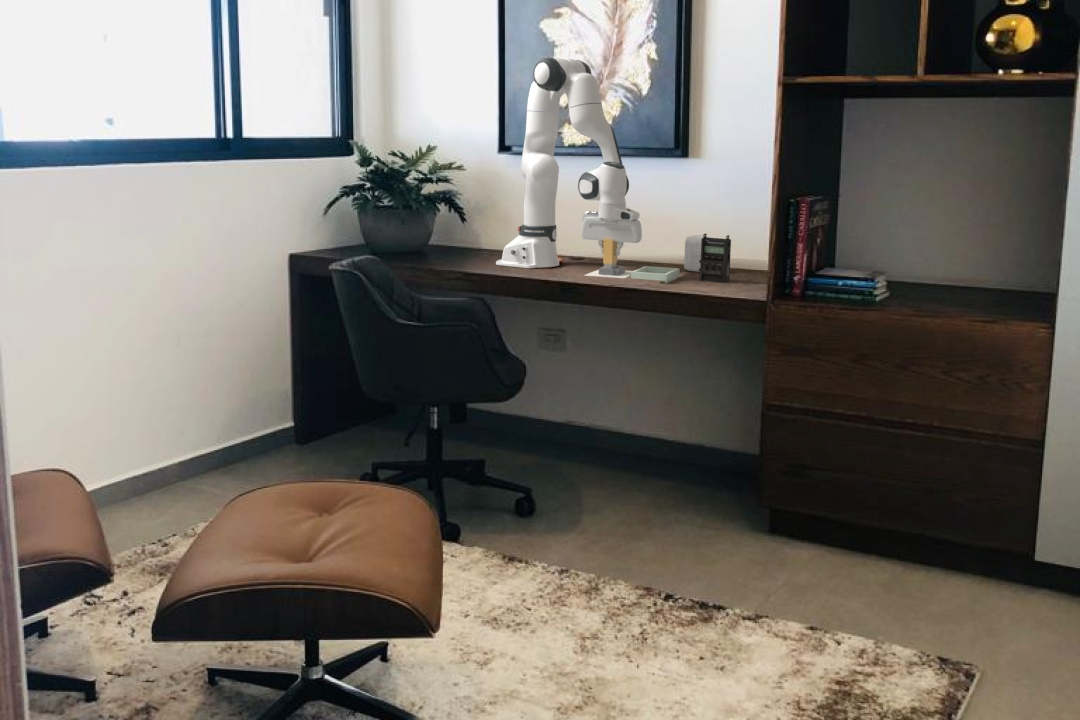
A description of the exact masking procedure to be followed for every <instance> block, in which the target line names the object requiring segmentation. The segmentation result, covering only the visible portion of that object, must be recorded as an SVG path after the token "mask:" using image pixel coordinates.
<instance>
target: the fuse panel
mask: <svg viewBox="0 0 1080 720" xmlns="http://www.w3.org/2000/svg"><path fill="white" fill-rule="evenodd" d="M632 271H633V270H626V266H623V265H616V268H615V269H607V268H604V265H603V266H601V267H599V268H598V269H596V270H593V271H591V272H589V273H586V274H583V276H586V277H600V278H615V279H626V278H628V277H631V272H632Z"/></svg>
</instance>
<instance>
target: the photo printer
mask: <svg viewBox="0 0 1080 720" xmlns="http://www.w3.org/2000/svg"><path fill="white" fill-rule="evenodd" d="M706 237H708V238H711V237H709V236H706ZM701 238H703V234H702V235H701V234H698V235H697V234H696V235H690V236H687V237H686V239H685V242H684V263H683V269H684V270H685V271H687V272H689V271H690V272H697V273H700V271H699V268H700V263H699V260H701Z"/></svg>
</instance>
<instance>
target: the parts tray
mask: <svg viewBox="0 0 1080 720" xmlns="http://www.w3.org/2000/svg"><path fill="white" fill-rule="evenodd" d="M631 271H632V272H631V276H630V279H634V280H635V279H636V280H650V281H659V284H666V285H667V284H669V283H672V282H673V281H675V280H677V279H679V278H680V268H676V267H675V268H674V267H662V266H661V267H659V266H646V265H645V266H642V267H640V268H637V269H635V270H631Z"/></svg>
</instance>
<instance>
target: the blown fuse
mask: <svg viewBox="0 0 1080 720" xmlns="http://www.w3.org/2000/svg"><path fill="white" fill-rule="evenodd" d="M603 245H604V253H603V254H602V255H603V259H602V261H603V266H604V268H607V269H615V268H616V266H617V263H618V256H617V255H614V250H617V248H618V246H619V245H617V242H615V241H613V239H604V243H603Z"/></svg>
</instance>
